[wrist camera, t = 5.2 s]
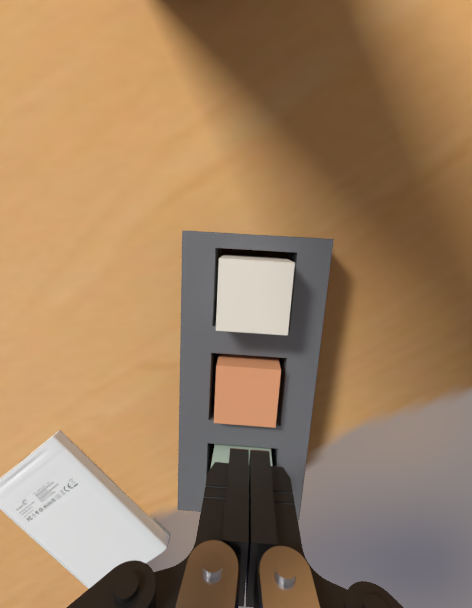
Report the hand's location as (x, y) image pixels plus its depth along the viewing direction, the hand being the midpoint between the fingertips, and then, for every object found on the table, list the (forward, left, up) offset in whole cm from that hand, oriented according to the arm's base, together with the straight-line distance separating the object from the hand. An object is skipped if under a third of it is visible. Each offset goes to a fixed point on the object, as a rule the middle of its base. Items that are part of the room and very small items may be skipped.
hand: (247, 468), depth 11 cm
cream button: (-6, 0, -8) cm, 10 cm away
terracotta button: (0, 0, -9) cm, 9 cm away
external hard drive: (+14, -12, -10) cm, 21 cm away
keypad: (0, 0, -10) cm, 10 cm away
